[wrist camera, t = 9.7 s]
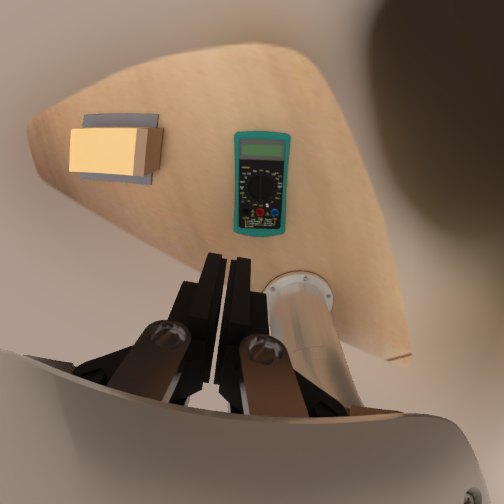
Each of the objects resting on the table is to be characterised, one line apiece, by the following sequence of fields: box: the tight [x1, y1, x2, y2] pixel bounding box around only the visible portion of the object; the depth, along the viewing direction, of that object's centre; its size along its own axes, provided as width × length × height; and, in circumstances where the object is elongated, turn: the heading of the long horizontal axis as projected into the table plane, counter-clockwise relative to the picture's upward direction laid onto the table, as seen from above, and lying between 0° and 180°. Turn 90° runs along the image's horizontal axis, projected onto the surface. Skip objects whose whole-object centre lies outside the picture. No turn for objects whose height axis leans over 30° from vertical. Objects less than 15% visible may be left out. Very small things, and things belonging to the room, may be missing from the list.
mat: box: [81, 114, 159, 185], centre depth 35 cm, size 10×13×1 cm
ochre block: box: [69, 127, 163, 177], centre depth 32 cm, size 6×6×12 cm
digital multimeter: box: [234, 131, 290, 237], centre depth 37 cm, size 7×15×3 cm, turn 179°
